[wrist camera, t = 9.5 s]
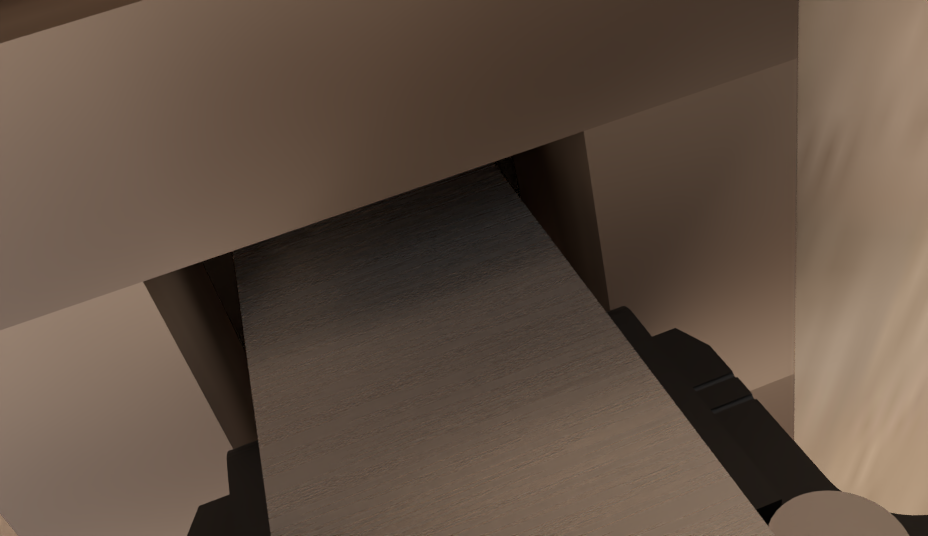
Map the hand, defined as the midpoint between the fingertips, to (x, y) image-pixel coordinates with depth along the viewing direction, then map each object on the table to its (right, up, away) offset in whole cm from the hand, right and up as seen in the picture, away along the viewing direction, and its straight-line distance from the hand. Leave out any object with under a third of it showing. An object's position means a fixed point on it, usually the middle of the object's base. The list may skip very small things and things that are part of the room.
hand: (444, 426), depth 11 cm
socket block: (-1, +3, +4) cm, 5 cm away
